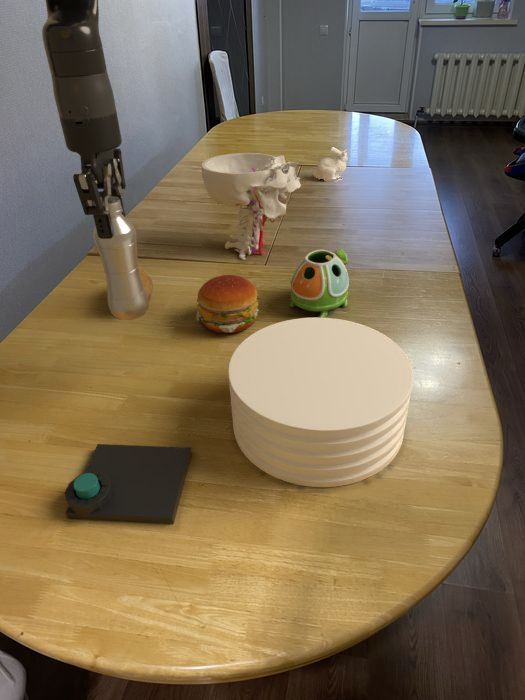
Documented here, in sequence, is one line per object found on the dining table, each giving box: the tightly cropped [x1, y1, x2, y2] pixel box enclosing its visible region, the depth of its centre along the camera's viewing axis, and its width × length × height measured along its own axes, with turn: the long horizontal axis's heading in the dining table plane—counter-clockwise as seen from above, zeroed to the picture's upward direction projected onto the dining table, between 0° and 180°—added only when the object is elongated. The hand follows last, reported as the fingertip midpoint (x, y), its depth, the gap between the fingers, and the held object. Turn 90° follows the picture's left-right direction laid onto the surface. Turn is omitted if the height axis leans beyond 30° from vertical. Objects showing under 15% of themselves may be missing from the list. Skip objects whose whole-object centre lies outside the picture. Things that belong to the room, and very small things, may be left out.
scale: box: [64, 443, 193, 525], centre depth 75 cm, size 16×13×3 cm
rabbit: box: [313, 146, 349, 183], centre depth 184 cm, size 12×9×12 cm
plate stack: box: [227, 317, 414, 488], centre depth 83 cm, size 28×28×12 cm
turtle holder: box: [289, 248, 350, 318], centre depth 114 cm, size 12×18×12 cm
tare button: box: [74, 473, 100, 499], centre depth 72 cm, size 3×3×2 cm
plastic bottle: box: [92, 196, 149, 321], centre depth 83 cm, size 6×7×20 cm
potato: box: [139, 266, 154, 302], centre depth 117 cm, size 10×14×8 cm
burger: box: [196, 274, 260, 334], centre depth 109 cm, size 13×14×10 cm
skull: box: [201, 152, 302, 261], centre depth 136 cm, size 25×19×23 cm
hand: (112, 229), depth 79 cm, fingers closed on plastic bottle, 5 cm apart
